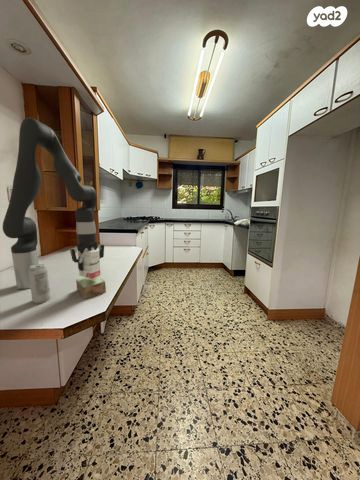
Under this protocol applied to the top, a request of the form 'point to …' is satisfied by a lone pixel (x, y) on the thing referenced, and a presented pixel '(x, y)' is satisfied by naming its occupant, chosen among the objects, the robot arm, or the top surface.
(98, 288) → the stand
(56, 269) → the top surface
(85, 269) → the ink box
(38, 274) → the energy drink can
